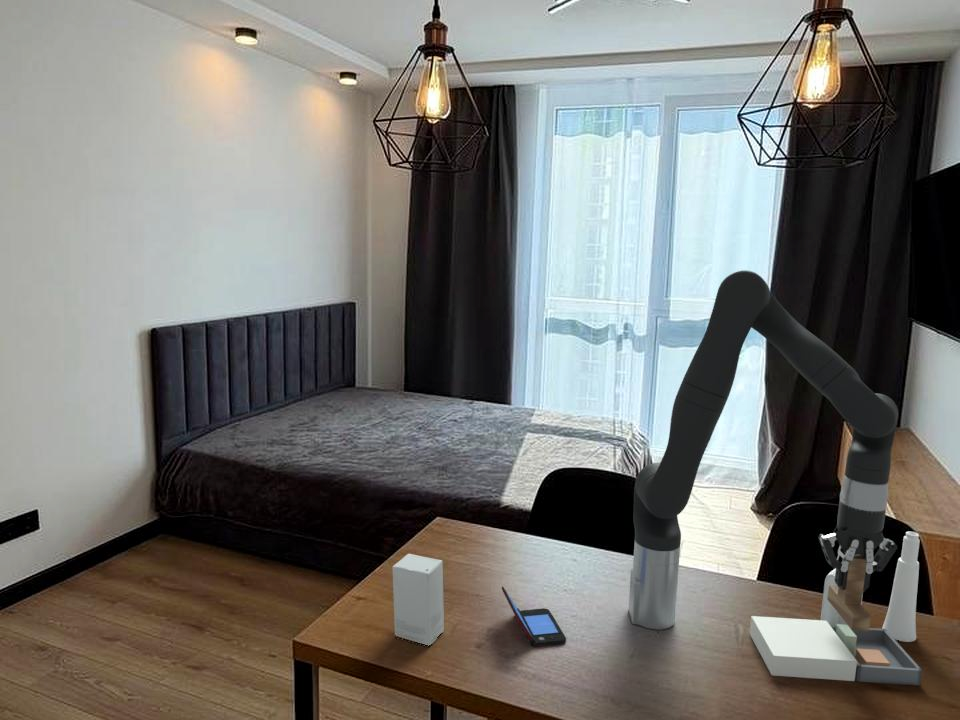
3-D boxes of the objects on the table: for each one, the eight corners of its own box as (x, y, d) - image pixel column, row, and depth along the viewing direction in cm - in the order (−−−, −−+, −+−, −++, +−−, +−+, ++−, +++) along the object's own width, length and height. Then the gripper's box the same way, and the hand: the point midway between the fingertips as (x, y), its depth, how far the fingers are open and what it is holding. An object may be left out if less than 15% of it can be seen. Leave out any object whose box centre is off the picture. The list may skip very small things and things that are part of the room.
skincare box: (444, 632, 138) (445, 560, 136) (428, 649, 132) (429, 574, 130) (408, 621, 142) (409, 551, 139) (391, 638, 136) (391, 564, 133)
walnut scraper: (851, 629, 125) (860, 568, 123) (827, 599, 135) (834, 542, 133) (868, 631, 124) (877, 569, 122) (843, 600, 135) (850, 543, 133)
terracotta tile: (889, 663, 127) (888, 673, 127) (878, 650, 131) (877, 659, 131) (866, 661, 127) (865, 671, 127) (856, 648, 131) (854, 658, 131)
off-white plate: (771, 675, 126) (773, 655, 126) (749, 634, 140) (751, 616, 139) (854, 681, 125) (857, 661, 124) (824, 638, 138) (826, 620, 138)
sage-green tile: (846, 636, 131) (856, 636, 131) (836, 624, 135) (847, 624, 135) (843, 655, 132) (854, 656, 132) (834, 643, 136) (844, 644, 136)
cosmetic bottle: (878, 623, 144) (891, 525, 141) (910, 628, 143) (924, 529, 139) (886, 639, 139) (900, 537, 135) (920, 644, 137) (935, 541, 133)
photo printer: (843, 609, 150) (849, 556, 148) (862, 618, 147) (869, 564, 144) (816, 622, 145) (822, 568, 142) (836, 632, 141) (843, 576, 139)
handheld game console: (567, 645, 135) (569, 610, 134) (514, 651, 133) (516, 616, 131) (548, 612, 147) (549, 579, 146) (499, 616, 145) (500, 584, 144)
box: (856, 681, 125) (858, 666, 125) (825, 638, 138) (827, 625, 138) (920, 685, 124) (922, 670, 124) (883, 642, 138) (885, 629, 137)
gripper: (831, 506, 123) (820, 595, 126) (913, 512, 122) (900, 602, 125) (815, 492, 130) (805, 576, 133) (892, 497, 129) (880, 582, 132)
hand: (851, 588), depth 129 cm, fingers closed on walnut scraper, 3 cm apart
